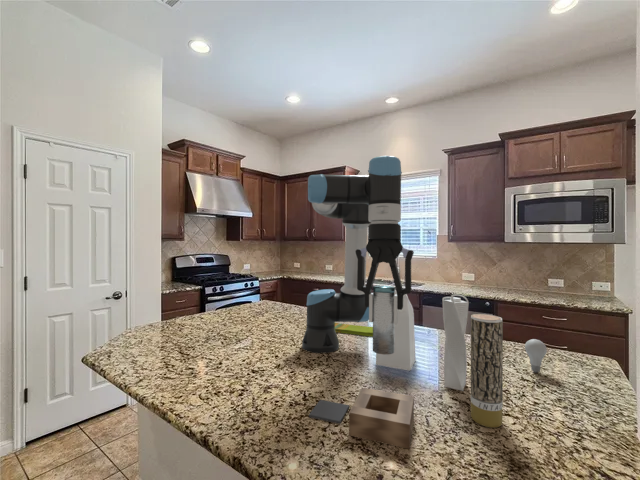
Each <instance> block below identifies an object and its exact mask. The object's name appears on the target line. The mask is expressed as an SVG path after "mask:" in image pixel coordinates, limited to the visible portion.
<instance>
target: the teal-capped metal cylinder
mask: <svg viewBox="0 0 640 480" xmlns="http://www.w3.org/2000/svg"><path fill="white" fill-rule="evenodd" d="M395 290H396V287H395V286H391V285H373V287H372V293H373V322H372V327H373V337H372V351H373V353H375V354H376V353H378V354H384V355H388V354H393V353H394V337H395V325H394V295H395Z"/></svg>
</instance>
